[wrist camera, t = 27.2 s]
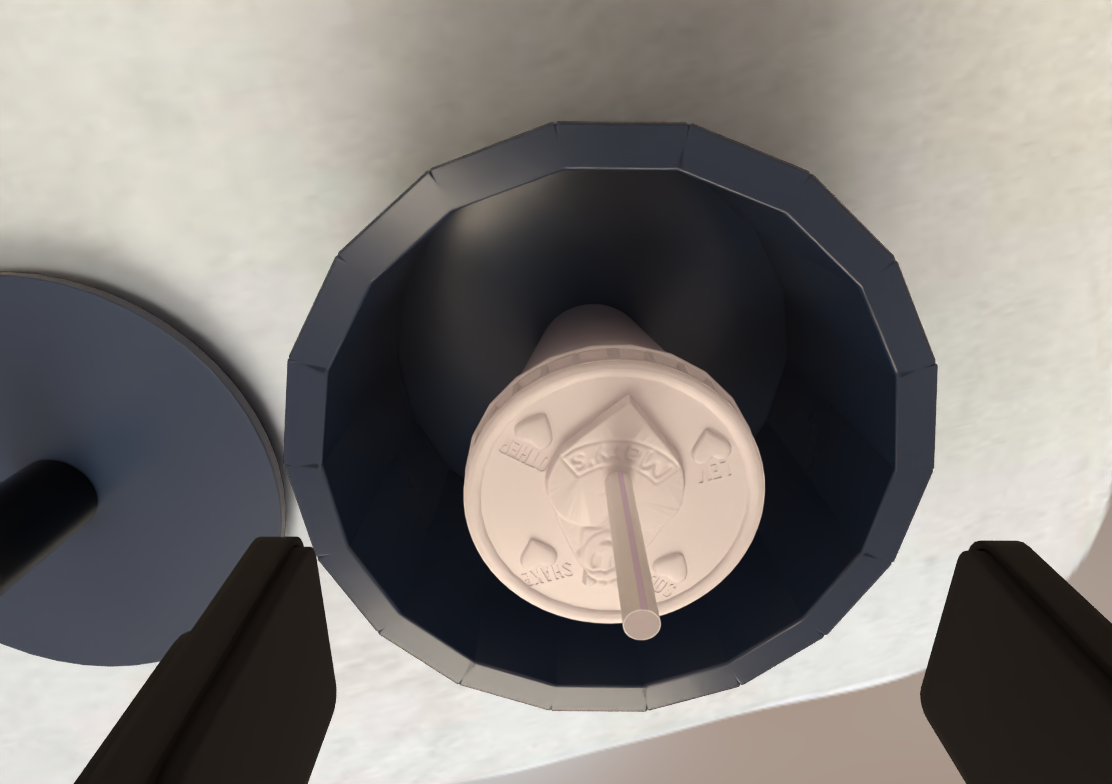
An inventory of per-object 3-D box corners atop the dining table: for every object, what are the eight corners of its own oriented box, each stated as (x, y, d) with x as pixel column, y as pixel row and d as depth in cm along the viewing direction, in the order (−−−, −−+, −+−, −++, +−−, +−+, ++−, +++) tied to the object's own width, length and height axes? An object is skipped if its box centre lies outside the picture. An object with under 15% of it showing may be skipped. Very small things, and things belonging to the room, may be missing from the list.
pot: (353, 121, 21) (229, 118, 13) (842, 125, 21) (1015, 125, 13) (391, 534, 26) (320, 709, 18) (781, 537, 26) (877, 714, 18)
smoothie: (702, 273, 22) (910, 484, 9) (670, 450, 24) (799, 822, 11) (504, 253, 22) (426, 440, 9) (491, 434, 24) (414, 794, 11)
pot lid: (-219, 266, 23) (-480, 313, 17) (258, 269, 23) (158, 317, 17) (-65, 646, 28) (-221, 776, 23) (316, 648, 28) (255, 780, 23)
